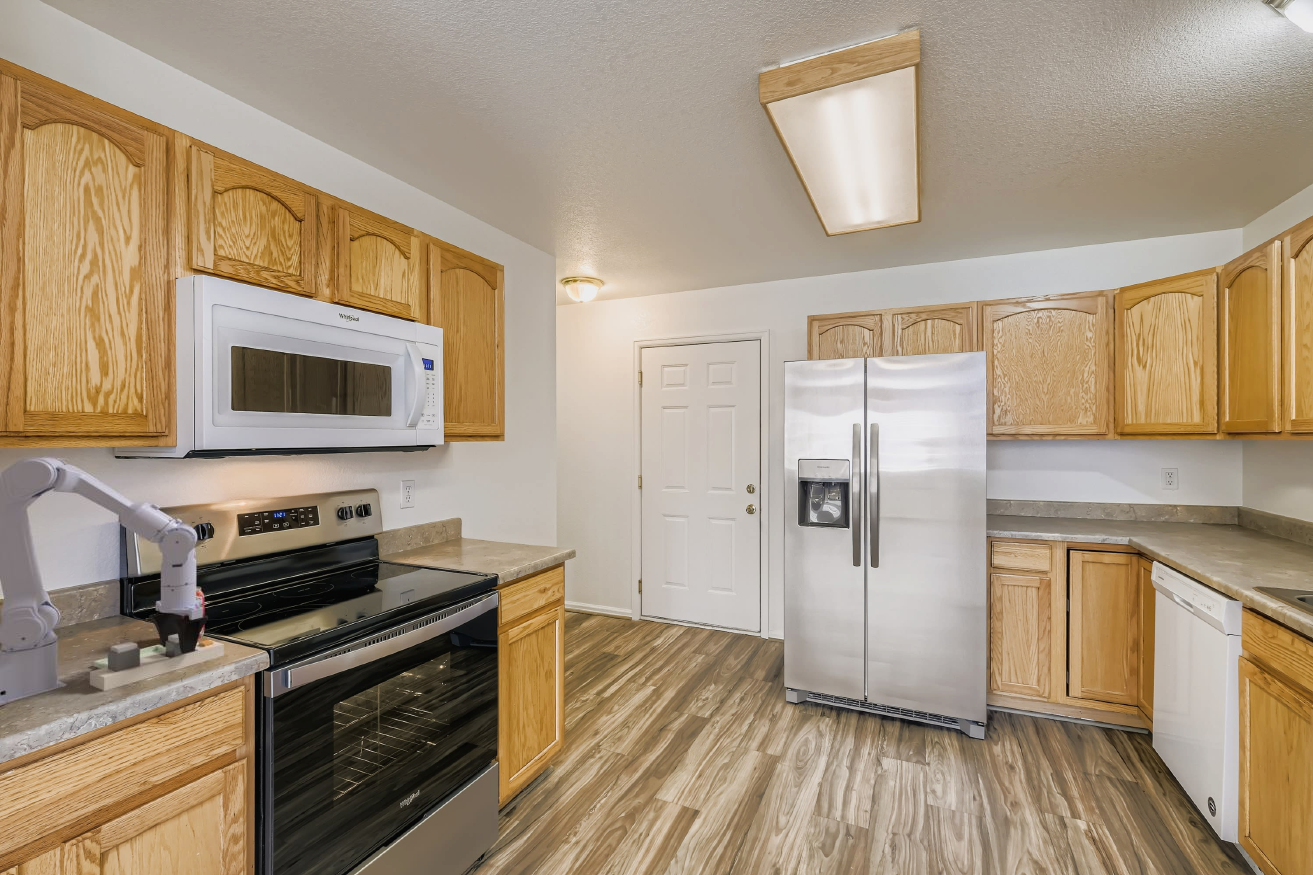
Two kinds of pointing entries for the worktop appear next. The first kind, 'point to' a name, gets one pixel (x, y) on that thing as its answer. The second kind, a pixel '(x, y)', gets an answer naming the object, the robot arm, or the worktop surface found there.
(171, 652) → the plug
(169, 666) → the power strip
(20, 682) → the robot arm
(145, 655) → the tray
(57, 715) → the worktop surface
